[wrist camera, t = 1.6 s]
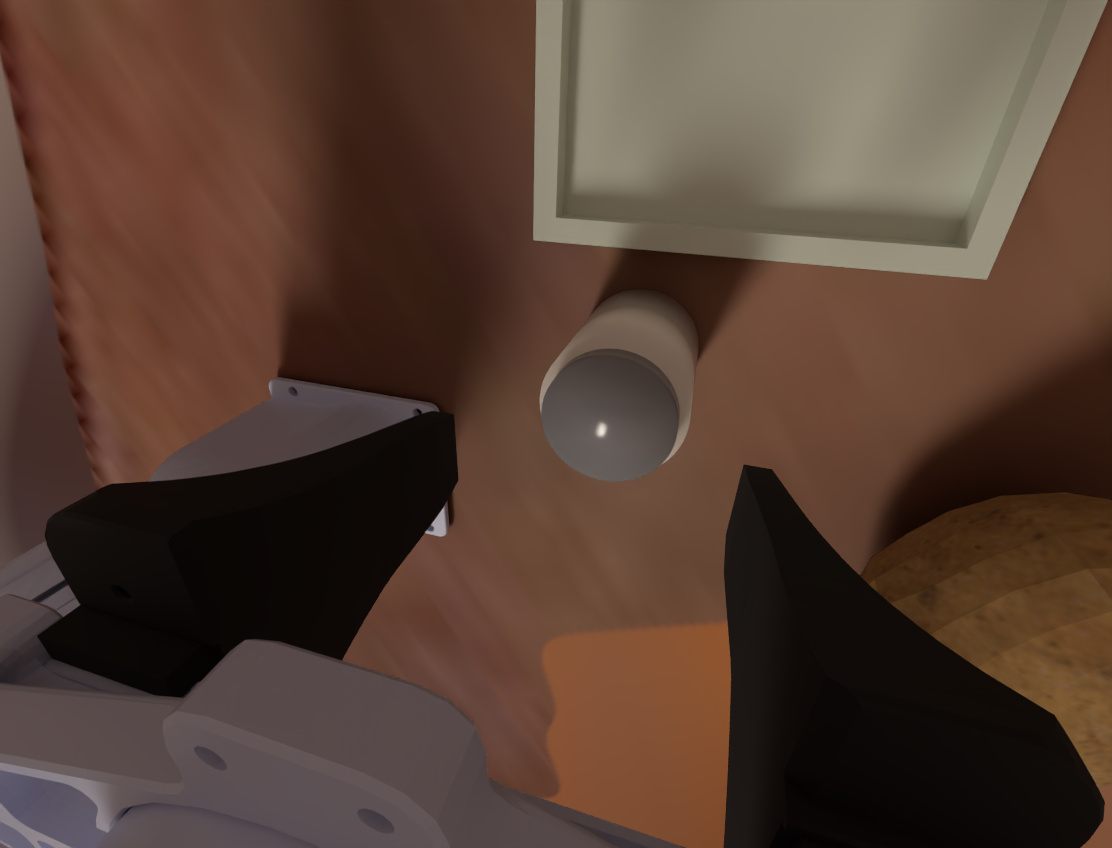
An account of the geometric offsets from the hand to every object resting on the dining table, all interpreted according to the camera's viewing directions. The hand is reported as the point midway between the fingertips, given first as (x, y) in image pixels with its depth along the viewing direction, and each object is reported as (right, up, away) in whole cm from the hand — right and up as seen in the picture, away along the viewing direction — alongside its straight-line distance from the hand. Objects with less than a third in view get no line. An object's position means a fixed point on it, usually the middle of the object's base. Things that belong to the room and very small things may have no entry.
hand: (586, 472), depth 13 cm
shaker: (+3, +4, +8) cm, 9 cm away
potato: (+16, -5, +9) cm, 19 cm away
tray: (+6, +12, +3) cm, 13 cm away
